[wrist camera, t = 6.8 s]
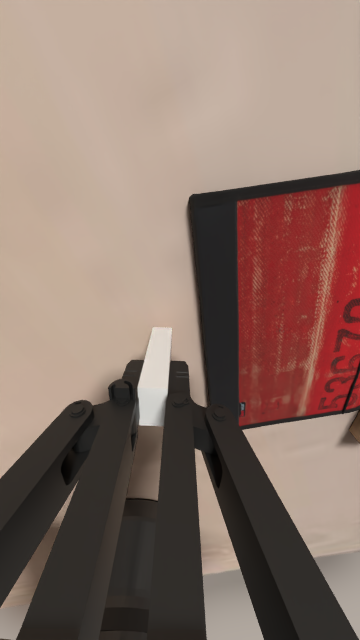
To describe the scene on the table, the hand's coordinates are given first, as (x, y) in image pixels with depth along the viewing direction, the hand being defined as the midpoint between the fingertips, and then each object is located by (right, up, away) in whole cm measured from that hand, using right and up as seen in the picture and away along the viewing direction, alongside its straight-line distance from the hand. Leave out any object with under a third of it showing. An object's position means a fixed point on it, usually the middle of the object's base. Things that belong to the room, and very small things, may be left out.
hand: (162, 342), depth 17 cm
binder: (+11, +2, +1) cm, 11 cm away
